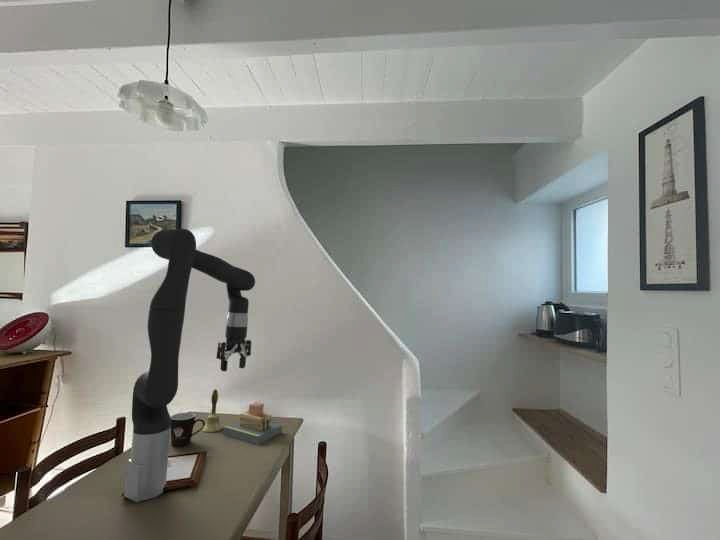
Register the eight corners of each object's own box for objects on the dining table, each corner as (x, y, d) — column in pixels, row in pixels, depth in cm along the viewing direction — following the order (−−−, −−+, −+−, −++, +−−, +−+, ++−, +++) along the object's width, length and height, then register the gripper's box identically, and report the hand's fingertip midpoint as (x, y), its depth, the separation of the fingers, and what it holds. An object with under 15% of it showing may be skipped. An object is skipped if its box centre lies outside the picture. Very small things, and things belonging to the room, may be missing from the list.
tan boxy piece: (260, 432, 138) (260, 418, 138) (239, 426, 143) (240, 413, 143) (270, 427, 143) (271, 414, 143) (250, 422, 148) (251, 409, 148)
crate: (256, 416, 141) (256, 406, 141) (248, 414, 142) (249, 404, 143) (263, 413, 144) (263, 403, 144) (255, 412, 146) (256, 402, 146)
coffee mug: (162, 446, 129) (164, 417, 130) (181, 437, 137) (183, 411, 138) (187, 451, 125) (189, 422, 126) (205, 442, 133) (207, 415, 134)
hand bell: (202, 426, 150) (205, 387, 151) (223, 424, 152) (226, 387, 154) (200, 433, 142) (203, 392, 143) (222, 431, 144) (224, 392, 146)
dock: (257, 444, 133) (257, 436, 133) (223, 434, 141) (224, 426, 141) (281, 433, 145) (282, 425, 145) (249, 424, 154) (250, 417, 154)
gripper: (229, 326, 123) (225, 373, 122) (258, 325, 136) (254, 368, 134) (214, 324, 127) (210, 370, 125) (243, 324, 139) (240, 365, 138)
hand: (233, 369), depth 130 cm, fingers open, 8 cm apart
